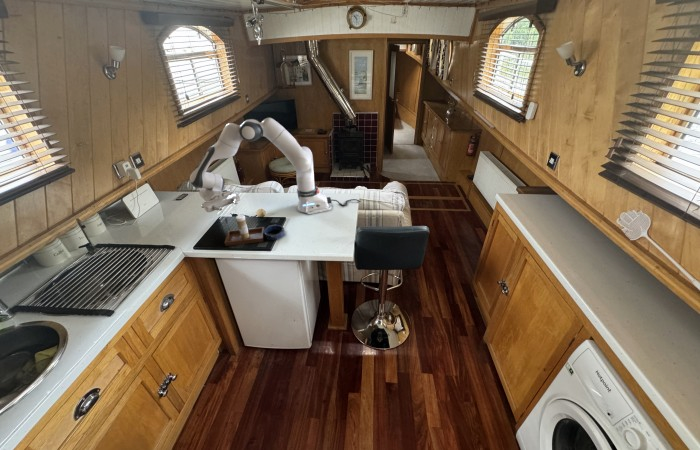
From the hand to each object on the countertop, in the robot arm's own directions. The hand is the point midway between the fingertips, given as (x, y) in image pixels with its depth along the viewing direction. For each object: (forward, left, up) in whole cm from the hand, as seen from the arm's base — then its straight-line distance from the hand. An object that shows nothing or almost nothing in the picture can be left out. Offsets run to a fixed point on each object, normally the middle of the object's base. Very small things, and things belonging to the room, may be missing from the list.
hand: (228, 206), depth 159 cm
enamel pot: (-23, +10, -16) cm, 30 cm away
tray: (-7, +10, -16) cm, 20 cm away
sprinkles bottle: (-7, +9, -16) cm, 20 cm away
